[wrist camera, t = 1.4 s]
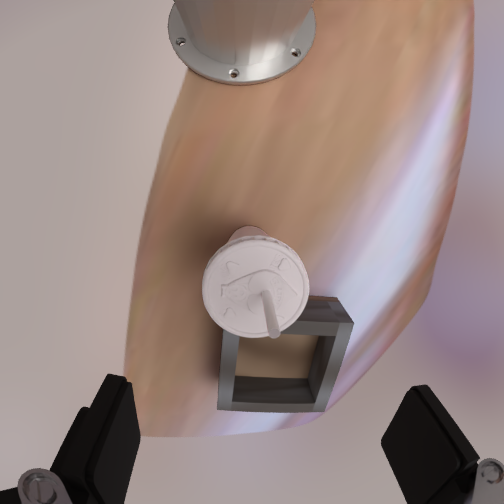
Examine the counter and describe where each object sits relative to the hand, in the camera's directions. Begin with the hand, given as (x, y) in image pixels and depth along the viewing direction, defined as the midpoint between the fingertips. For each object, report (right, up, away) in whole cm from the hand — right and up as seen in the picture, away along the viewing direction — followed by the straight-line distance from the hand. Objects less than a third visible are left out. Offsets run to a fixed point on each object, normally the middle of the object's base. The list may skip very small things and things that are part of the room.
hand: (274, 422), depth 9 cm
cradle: (+2, -3, +21) cm, 21 cm away
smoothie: (-1, +6, +18) cm, 19 cm away
